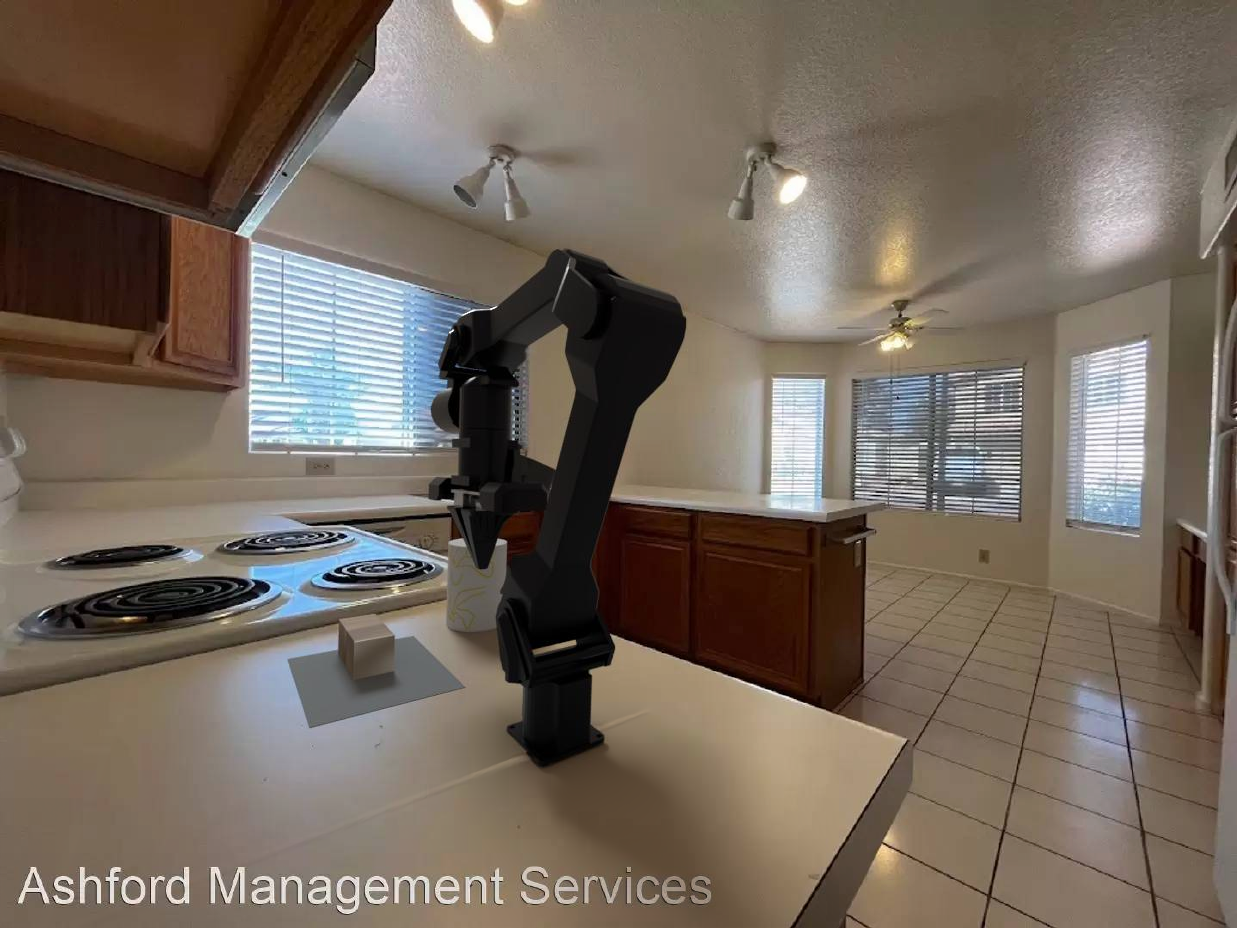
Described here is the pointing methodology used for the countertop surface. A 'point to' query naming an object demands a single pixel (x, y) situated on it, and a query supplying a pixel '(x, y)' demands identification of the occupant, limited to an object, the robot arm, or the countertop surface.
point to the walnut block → (366, 646)
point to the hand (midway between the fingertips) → (482, 568)
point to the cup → (473, 588)
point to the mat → (367, 683)
